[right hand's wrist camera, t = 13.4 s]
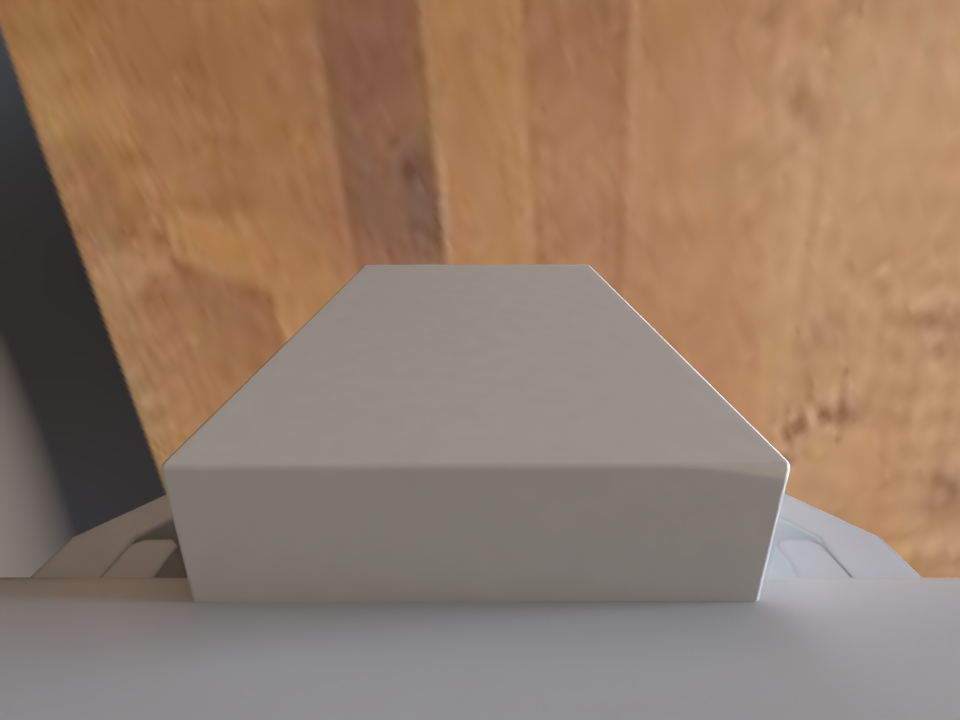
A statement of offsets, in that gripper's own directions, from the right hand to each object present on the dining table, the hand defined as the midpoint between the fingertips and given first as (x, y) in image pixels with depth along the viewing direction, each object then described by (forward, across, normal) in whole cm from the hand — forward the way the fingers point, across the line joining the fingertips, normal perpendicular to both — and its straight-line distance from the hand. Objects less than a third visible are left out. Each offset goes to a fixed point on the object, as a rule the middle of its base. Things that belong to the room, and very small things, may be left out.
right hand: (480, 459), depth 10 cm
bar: (+3, 0, -10) cm, 11 cm away
